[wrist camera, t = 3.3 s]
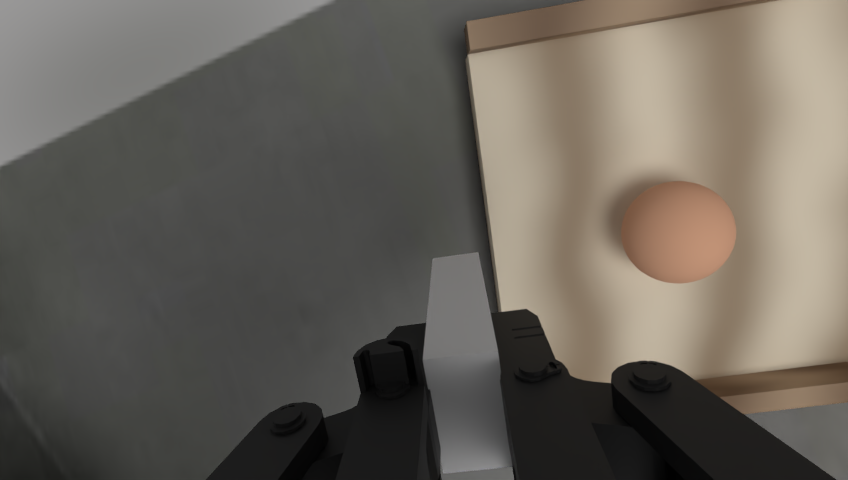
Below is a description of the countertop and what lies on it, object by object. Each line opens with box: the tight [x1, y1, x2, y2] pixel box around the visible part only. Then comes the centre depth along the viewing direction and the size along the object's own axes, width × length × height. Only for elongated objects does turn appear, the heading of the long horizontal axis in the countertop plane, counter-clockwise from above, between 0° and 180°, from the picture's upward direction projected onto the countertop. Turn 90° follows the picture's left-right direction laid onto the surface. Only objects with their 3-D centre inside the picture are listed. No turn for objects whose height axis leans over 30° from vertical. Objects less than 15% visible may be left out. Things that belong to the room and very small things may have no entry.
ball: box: [621, 181, 736, 284], centre depth 19 cm, size 4×4×4 cm
